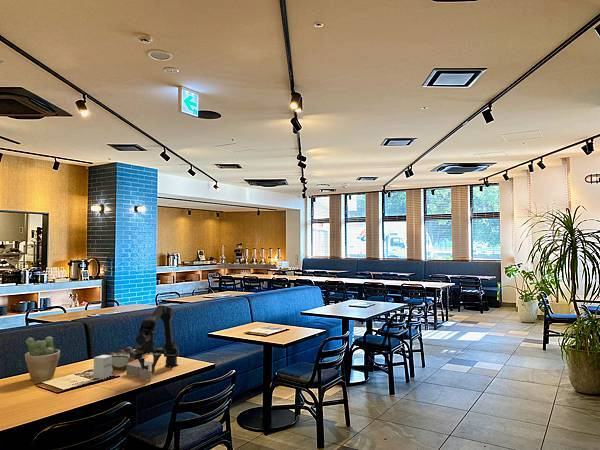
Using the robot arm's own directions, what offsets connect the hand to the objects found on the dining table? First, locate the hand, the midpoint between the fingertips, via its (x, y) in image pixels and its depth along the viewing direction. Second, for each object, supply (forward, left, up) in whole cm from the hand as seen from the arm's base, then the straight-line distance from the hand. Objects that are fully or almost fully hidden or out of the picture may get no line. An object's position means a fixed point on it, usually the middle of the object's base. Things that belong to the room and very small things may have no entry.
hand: (148, 368), depth 261 cm
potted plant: (+31, -58, -8) cm, 66 cm away
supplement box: (+10, -30, -8) cm, 32 cm away
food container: (-7, -36, -8) cm, 37 cm away
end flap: (-1, -5, -7) cm, 9 cm away
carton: (-8, -18, -8) cm, 21 cm away
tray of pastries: (-20, -51, -8) cm, 55 cm away
